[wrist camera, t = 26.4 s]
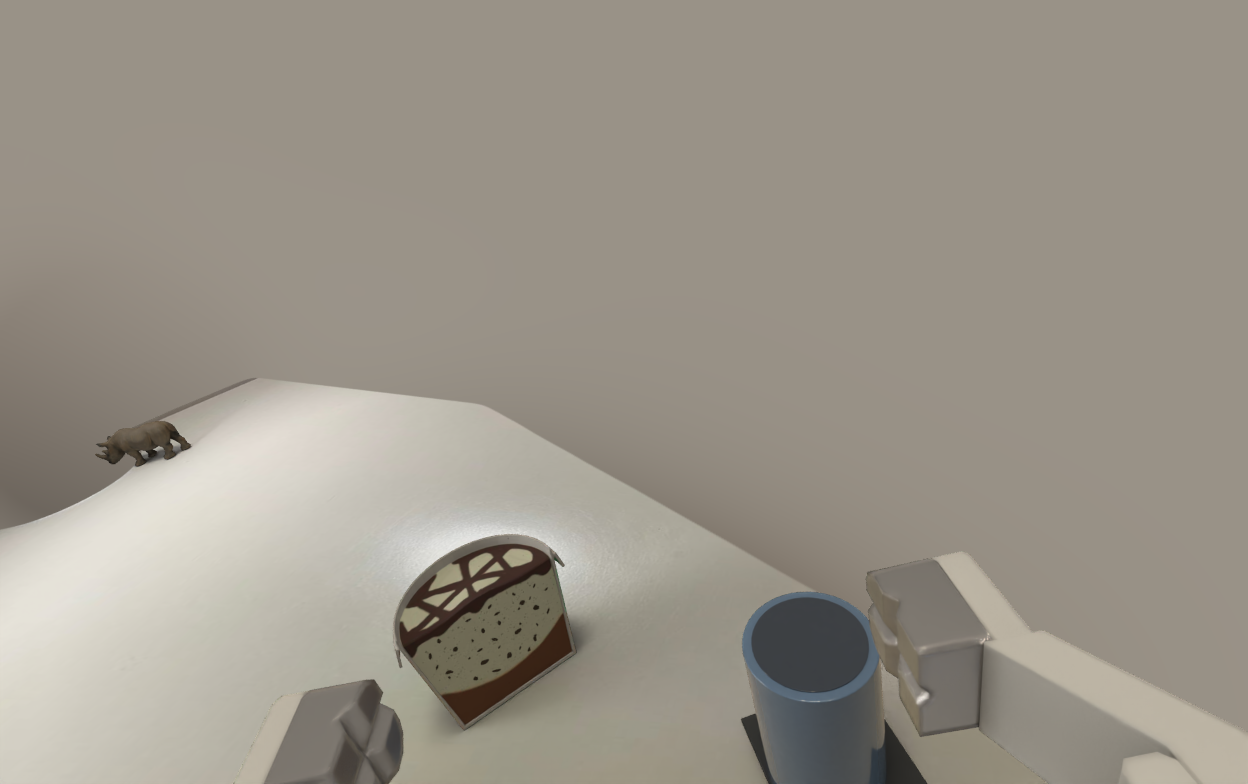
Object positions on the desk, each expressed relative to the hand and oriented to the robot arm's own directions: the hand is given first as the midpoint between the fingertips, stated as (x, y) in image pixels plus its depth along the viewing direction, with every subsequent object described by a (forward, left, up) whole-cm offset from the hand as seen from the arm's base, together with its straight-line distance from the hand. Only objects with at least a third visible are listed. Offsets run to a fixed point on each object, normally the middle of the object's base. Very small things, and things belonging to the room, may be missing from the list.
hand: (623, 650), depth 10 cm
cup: (+14, -8, -30) cm, 34 cm away
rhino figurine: (+94, +66, -30) cm, 119 cm away
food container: (+29, +10, -30) cm, 43 cm away
